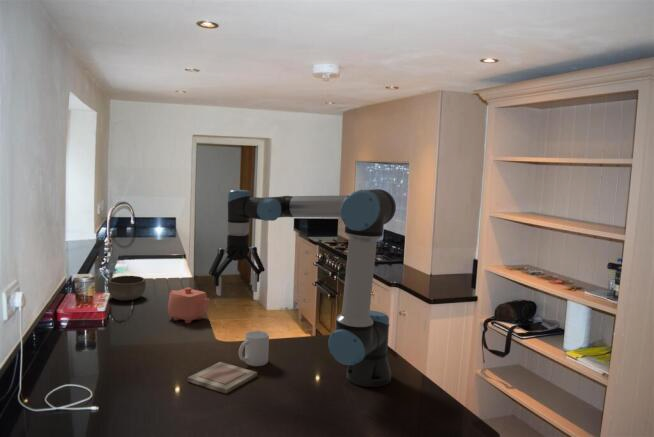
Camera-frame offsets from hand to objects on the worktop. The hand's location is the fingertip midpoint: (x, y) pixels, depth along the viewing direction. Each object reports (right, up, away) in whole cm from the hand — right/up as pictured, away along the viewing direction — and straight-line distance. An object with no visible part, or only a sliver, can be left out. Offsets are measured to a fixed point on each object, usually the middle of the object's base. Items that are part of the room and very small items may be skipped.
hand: (236, 293), depth 188 cm
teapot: (-30, -19, +48) cm, 59 cm away
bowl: (-68, -14, +77) cm, 104 cm away
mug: (+5, -25, 0) cm, 26 cm away
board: (-2, -26, -14) cm, 30 cm away
